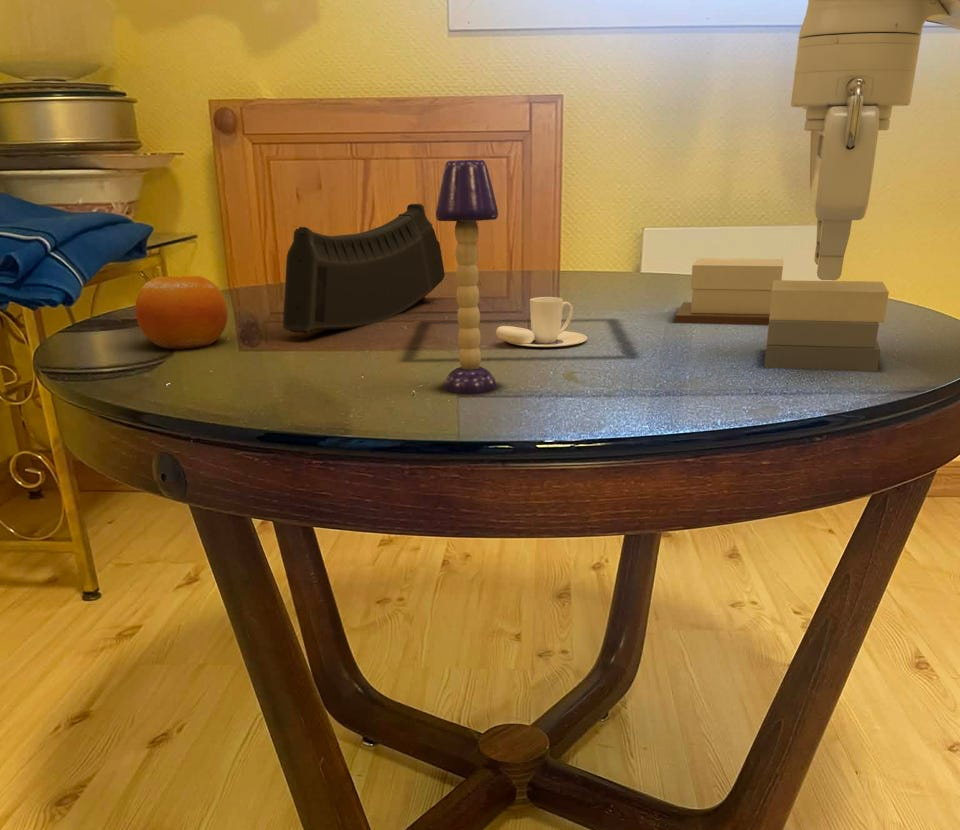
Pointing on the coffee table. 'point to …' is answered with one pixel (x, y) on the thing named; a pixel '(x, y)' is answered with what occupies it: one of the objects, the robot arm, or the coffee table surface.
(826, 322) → the brown rectangular block
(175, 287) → the fruit
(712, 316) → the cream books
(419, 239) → the magazine
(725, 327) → the coffee table surface
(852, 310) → the tan flat block
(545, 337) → the teacup and saucer
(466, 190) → the toy lamp
